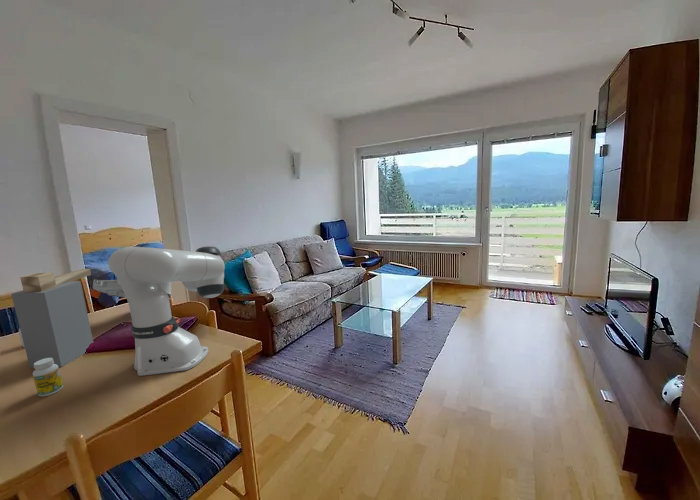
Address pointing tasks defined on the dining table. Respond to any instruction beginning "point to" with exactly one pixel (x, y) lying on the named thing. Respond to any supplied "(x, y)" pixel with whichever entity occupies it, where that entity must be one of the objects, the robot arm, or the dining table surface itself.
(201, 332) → the dining table surface
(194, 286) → the robot arm
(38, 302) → the pedestal
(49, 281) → the mallet
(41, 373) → the supplement bottle
